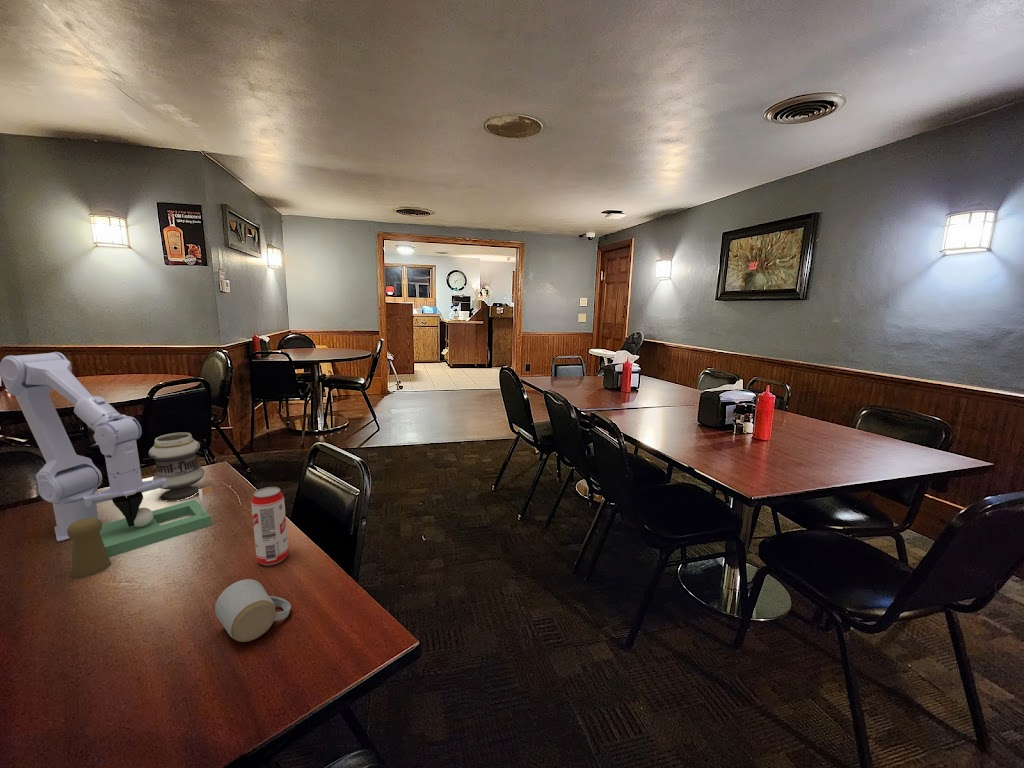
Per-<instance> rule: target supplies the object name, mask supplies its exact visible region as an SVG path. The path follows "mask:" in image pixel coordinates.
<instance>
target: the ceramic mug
mask: <svg viewBox="0 0 1024 768" xmlns="http://www.w3.org/2000/svg"><path fill="white" fill-rule="evenodd" d="M276 607H278V608H281V609H282V610H283V611H277V610H276ZM291 609H292V605H291V603H290V602H289V601H288V600H286V599H284V598H282V597H279V596H273V595H269V594H268V592H267V591H266V589H265V587H264V586H263V585H262V584H261V583H260V582H259V581H257V580H255V579H250V578H246V579H241V580H238V581H236V582H234V583H232V584H230V585H229V586H228V587H226V588H225V589H224V590H223V591H222V592H221V594H220V595H219V596H218V598H217V600H216V603H215V605H214V614H215V616H216V618H217V620H218V621H219V622H220V624H221V625H222V626H223V628H224V629H225V631H226V632H227V634H228V635H229V636H230V638H232V639H233V640H235V641H237V642H242V643H247V642H252V641H254V640H256V639H258V638H260V637H262V635H264V634H265V633H266V632H268V631H269V629H270V628H271V626H272V625H273V623H274V622H279V621H282V620H285V619H287V618H288V617H289V614H290V611H291Z"/></svg>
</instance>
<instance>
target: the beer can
mask: <svg viewBox="0 0 1024 768" xmlns="http://www.w3.org/2000/svg"><path fill="white" fill-rule="evenodd" d="M252 494H253V497H252V499H251V504H250V505H251V515H252V525H253V535H254V544H255V555H256V556H255V557H256V562H257V563H258V564H260V565H262V566H268V567H269V566H275V565H277V564H279V563H281V562H283V561H284V560H285V559H286V558H287V556H288V555H289V552H290V551H289V541H288V539H289V538H288V528H287V518H286V516H287V515H286V514H287V513H286V505H285V496H284V494H283V493H282V492H281V488H279V487H278V486H269V487H267V486H266V487H263V488H259V489H257V490H255V491H254V493H252Z"/></svg>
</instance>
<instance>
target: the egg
mask: <svg viewBox="0 0 1024 768" xmlns="http://www.w3.org/2000/svg"><path fill="white" fill-rule="evenodd" d="M152 511H153V510H151V509H150V508H148V507H139V509H138V512H137V517H136V519H135V520H134V527H143V526H146V525H147V524H149V523H150V522H151V521H152V519H153V512H152Z"/></svg>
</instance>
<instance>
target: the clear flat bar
mask: <svg viewBox="0 0 1024 768" xmlns="http://www.w3.org/2000/svg"><path fill="white" fill-rule="evenodd" d="M198 490H199V494H198V496H199V504H200V506H201V515H202V516H203V515H205V511H204V509H205V504H204V497H203V496H204V495H207V494H210V493H213V488H212V486H207V487H203V488H201V489H198Z"/></svg>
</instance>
